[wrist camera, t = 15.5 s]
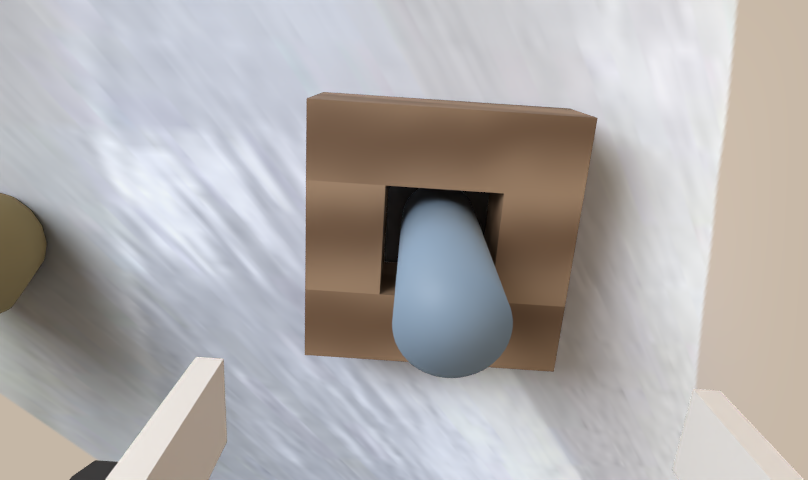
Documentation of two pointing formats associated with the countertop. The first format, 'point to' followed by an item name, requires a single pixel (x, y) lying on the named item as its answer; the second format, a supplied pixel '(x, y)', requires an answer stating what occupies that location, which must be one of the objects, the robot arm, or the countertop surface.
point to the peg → (447, 288)
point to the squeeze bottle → (18, 249)
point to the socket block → (439, 169)
